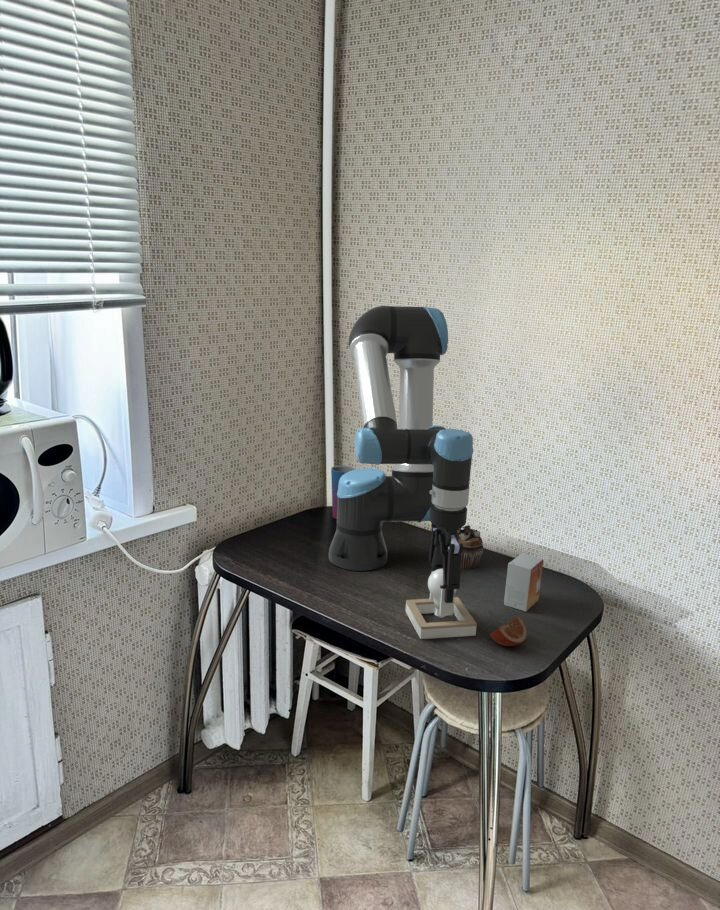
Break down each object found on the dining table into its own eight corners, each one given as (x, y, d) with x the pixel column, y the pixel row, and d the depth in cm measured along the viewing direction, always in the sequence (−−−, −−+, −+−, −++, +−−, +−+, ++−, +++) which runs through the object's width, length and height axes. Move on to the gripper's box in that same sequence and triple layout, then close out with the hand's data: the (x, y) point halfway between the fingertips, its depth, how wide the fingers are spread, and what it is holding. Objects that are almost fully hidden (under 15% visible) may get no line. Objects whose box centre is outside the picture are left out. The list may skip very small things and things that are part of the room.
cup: (330, 520, 210) (331, 471, 206) (329, 512, 217) (330, 465, 213) (353, 520, 211) (355, 472, 207) (351, 512, 217) (353, 465, 213)
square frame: (405, 611, 158) (406, 599, 157) (456, 608, 161) (457, 597, 160) (420, 639, 147) (421, 626, 146) (475, 635, 149) (476, 623, 149)
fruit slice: (505, 630, 152) (507, 609, 151) (532, 643, 148) (535, 621, 146) (482, 644, 146) (485, 622, 145) (511, 657, 142) (513, 635, 140)
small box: (526, 612, 160) (531, 569, 157) (503, 605, 163) (507, 562, 160) (539, 600, 166) (544, 558, 164) (516, 593, 170) (521, 552, 167)
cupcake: (489, 564, 185) (493, 528, 182) (464, 573, 179) (467, 536, 176) (462, 552, 192) (466, 517, 189) (437, 560, 186) (439, 524, 183)
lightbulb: (435, 606, 158) (439, 561, 155) (460, 616, 154) (464, 569, 151) (419, 617, 153) (422, 569, 150) (444, 627, 149) (448, 579, 146)
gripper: (418, 490, 155) (411, 587, 161) (446, 522, 137) (437, 630, 143) (451, 489, 156) (443, 585, 163) (483, 521, 138) (472, 628, 144)
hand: (440, 606), depth 153 cm, fingers closed on lightbulb, 6 cm apart
